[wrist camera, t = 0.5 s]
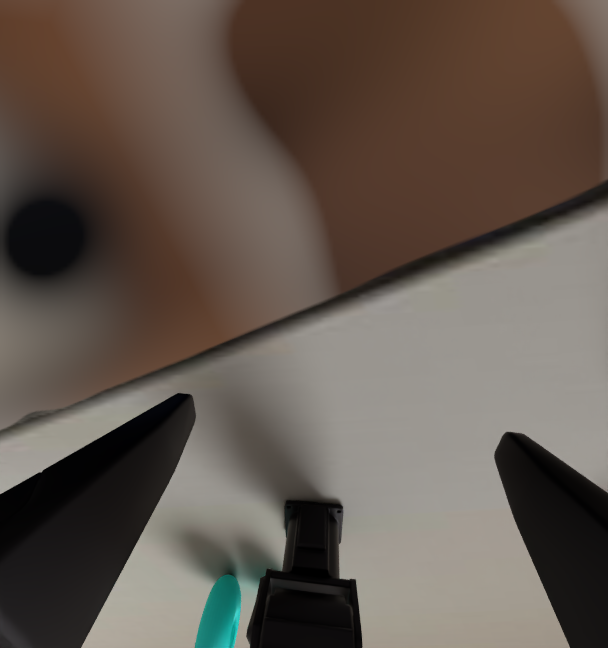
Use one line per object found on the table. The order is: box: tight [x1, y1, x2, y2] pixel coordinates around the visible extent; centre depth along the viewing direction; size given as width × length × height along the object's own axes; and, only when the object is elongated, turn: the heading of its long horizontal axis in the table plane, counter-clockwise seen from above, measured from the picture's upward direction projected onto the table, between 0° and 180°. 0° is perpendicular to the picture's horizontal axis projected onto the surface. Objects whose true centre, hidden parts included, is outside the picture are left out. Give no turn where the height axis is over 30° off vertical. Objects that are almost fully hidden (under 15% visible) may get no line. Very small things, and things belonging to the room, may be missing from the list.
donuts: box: [195, 575, 241, 648], centre depth 35 cm, size 10×10×10 cm
